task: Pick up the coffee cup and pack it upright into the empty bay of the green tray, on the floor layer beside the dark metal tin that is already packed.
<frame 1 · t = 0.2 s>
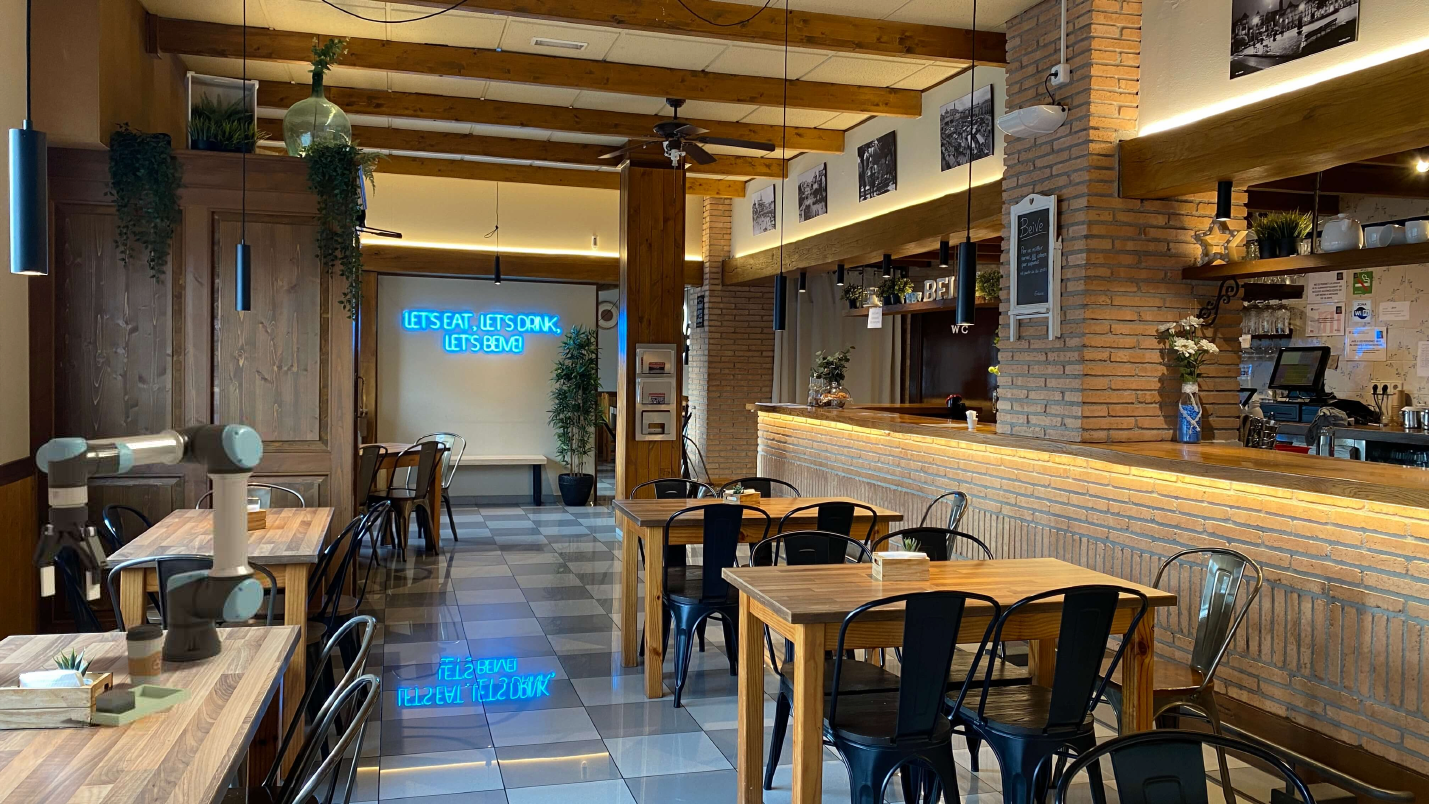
hand: (70, 597, 234), 27 cm above the table, fingers open, 13 cm apart
coffee cup: (145, 687, 255), on the table
tin: (114, 715, 232), point 1 cm above the table, touching green tray
green tray: (132, 712, 236), on the table
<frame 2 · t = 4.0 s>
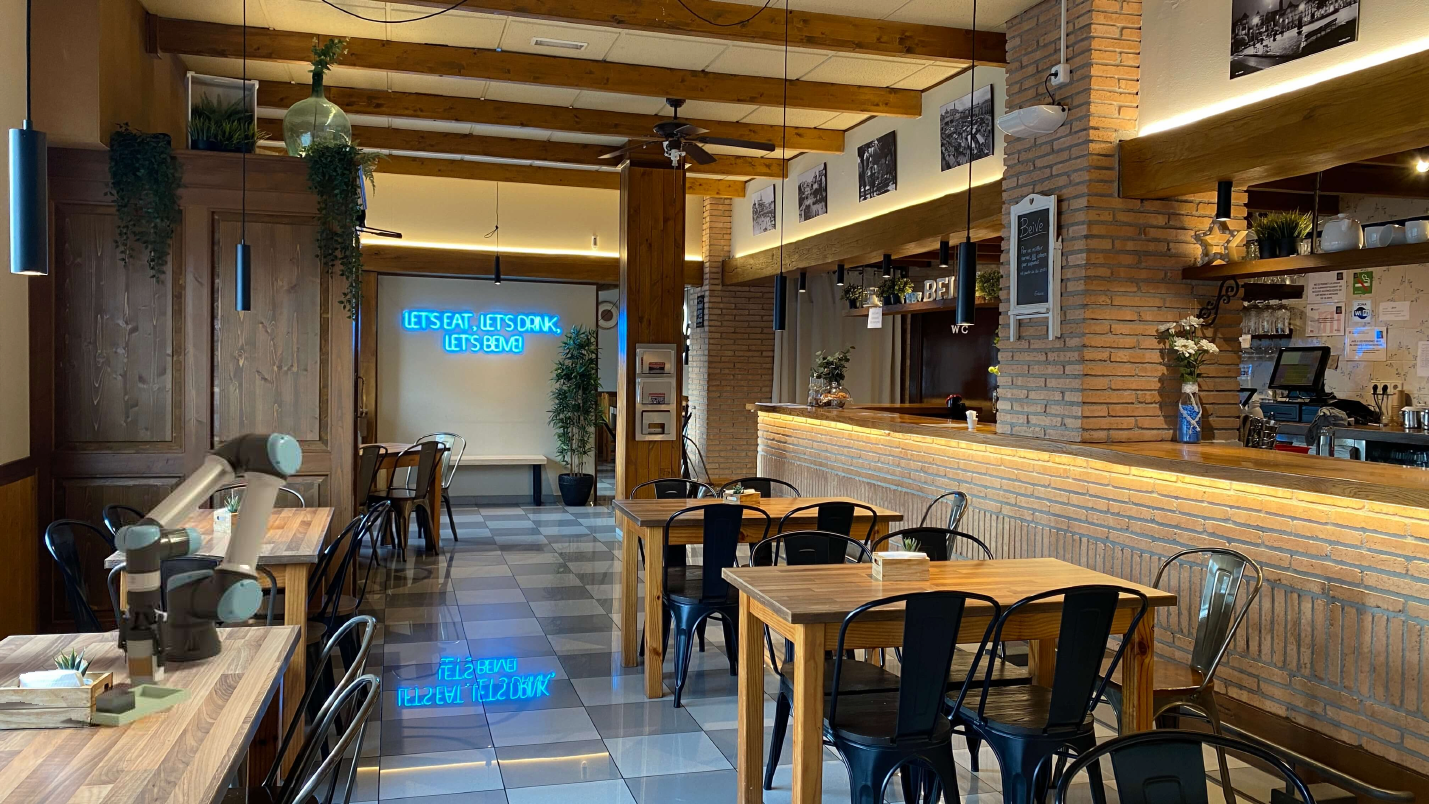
hand: (145, 678, 255), 2 cm above the table, fingers closed on coffee cup, 7 cm apart
coffee cup: (145, 687, 255), on the table, touching gripper
everything else where it was.
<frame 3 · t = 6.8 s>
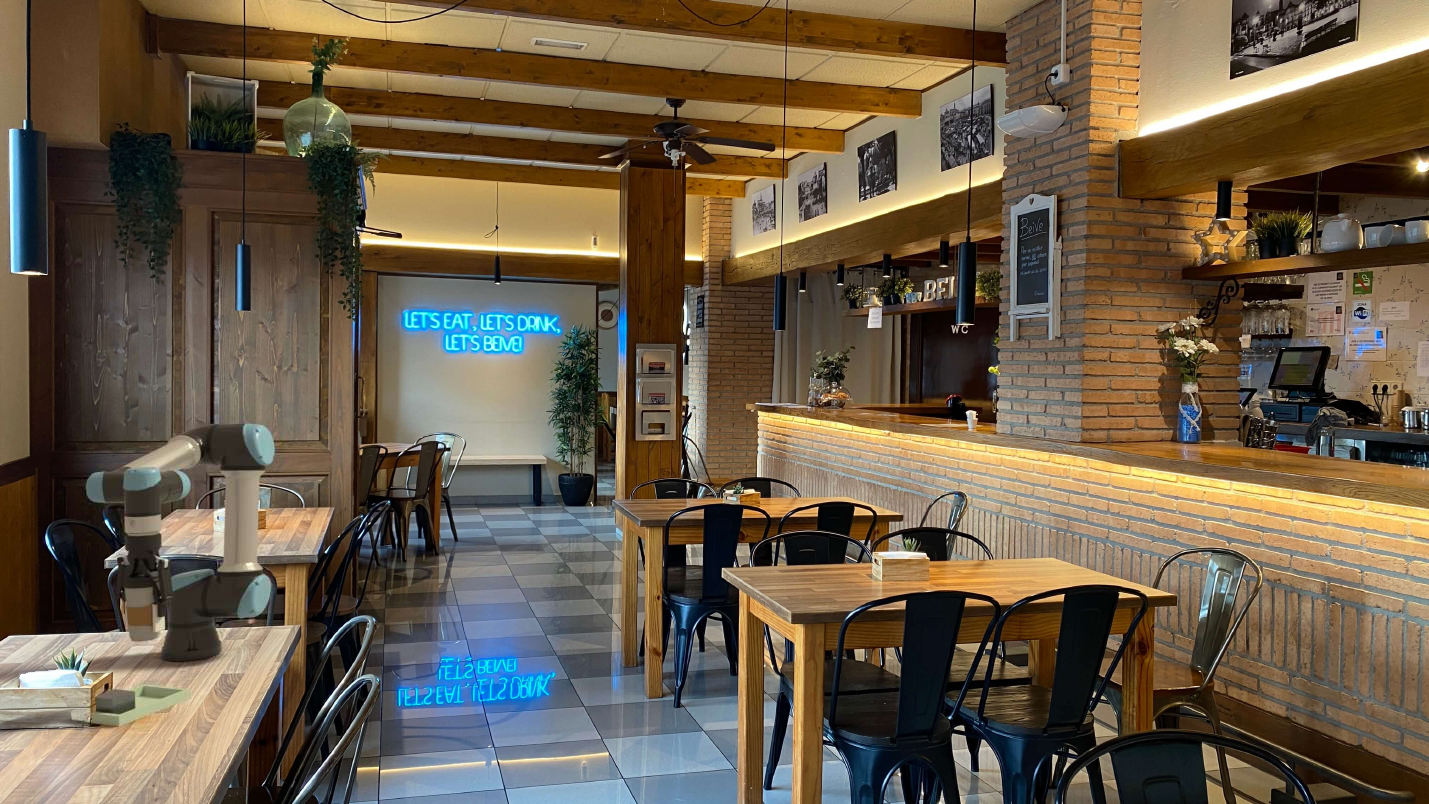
hand: (145, 629, 240), 19 cm above the table, fingers closed on coffee cup, 7 cm apart
coffee cup: (145, 639, 240), point 16 cm above the table, touching gripper
everything else where it was.
when the fingers open (5 cm above the table, at t = 10.0 s): coffee cup drops 2 cm, resting on green tray.
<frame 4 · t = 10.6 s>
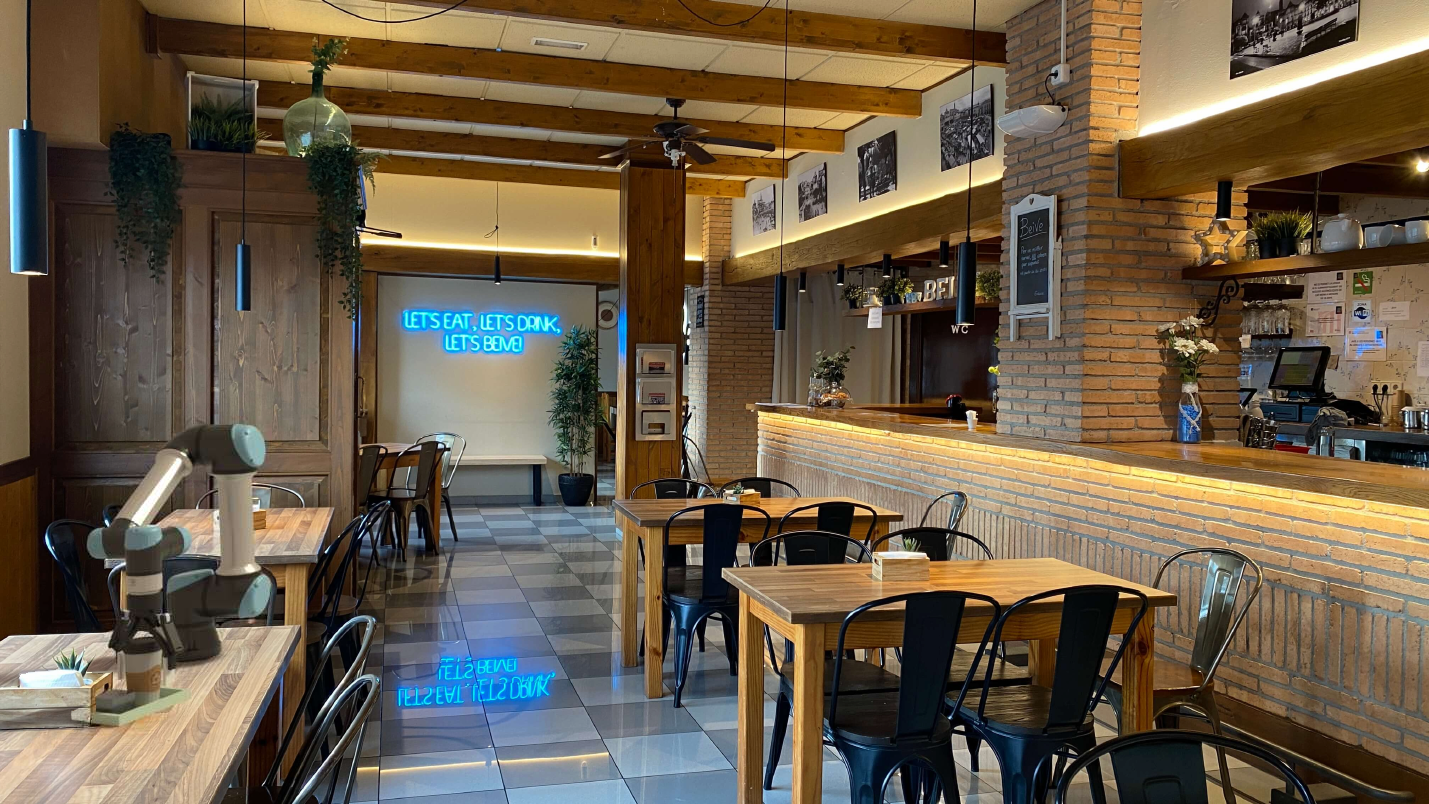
hand: (146, 680, 240), 6 cm above the table, fingers open, 13 cm apart
coffee cup: (144, 703, 240), point 1 cm above the table, touching green tray
everything else where it was.
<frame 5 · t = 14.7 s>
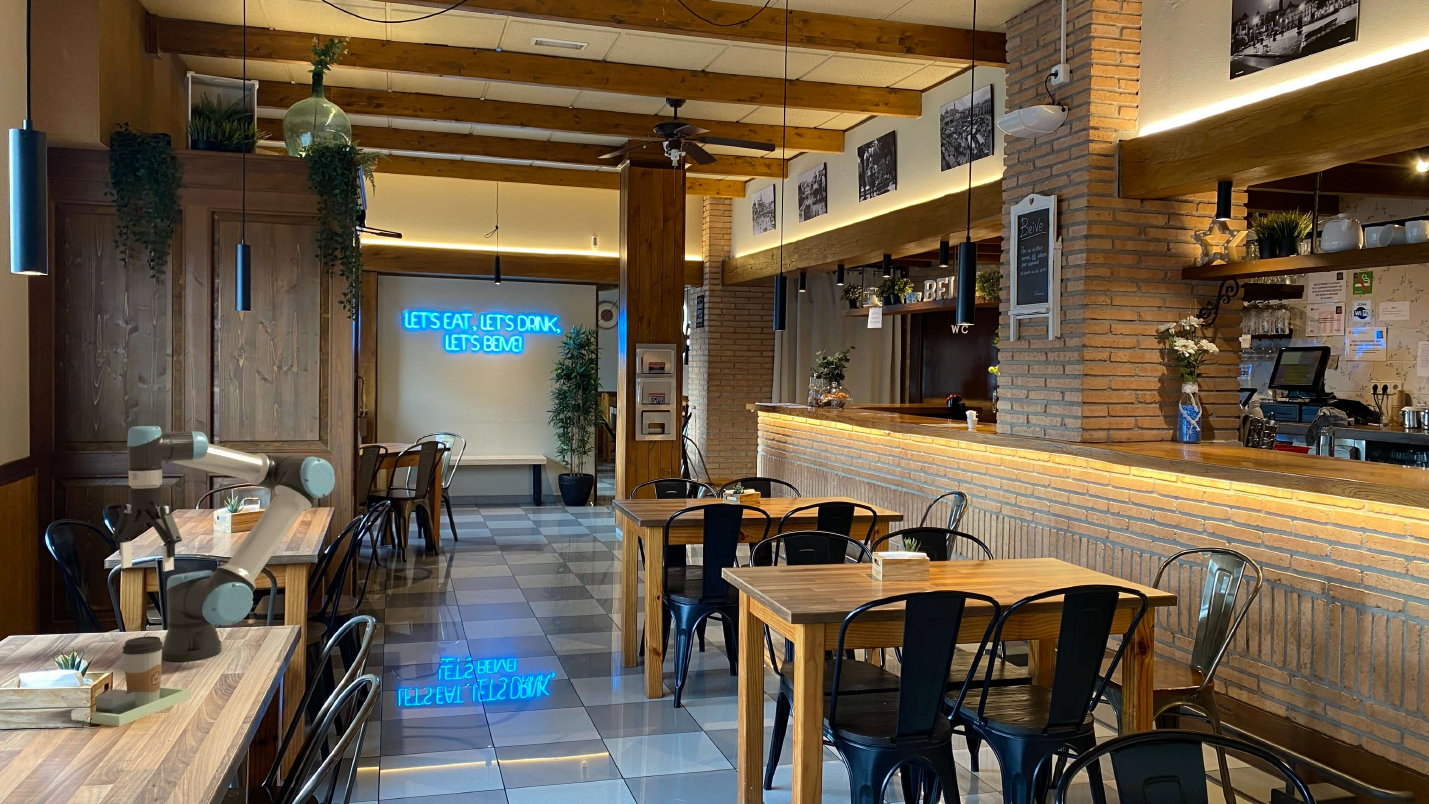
hand: (147, 568, 260), 29 cm above the table, fingers open, 13 cm apart
nothing on the table moved.
at the end: coffee cup inside the target area on the green tray (0.8 cm from its centre), point 0.6 cm above the green tray's base; coffee cup tilted 0°; the gripper is holding nothing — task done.
